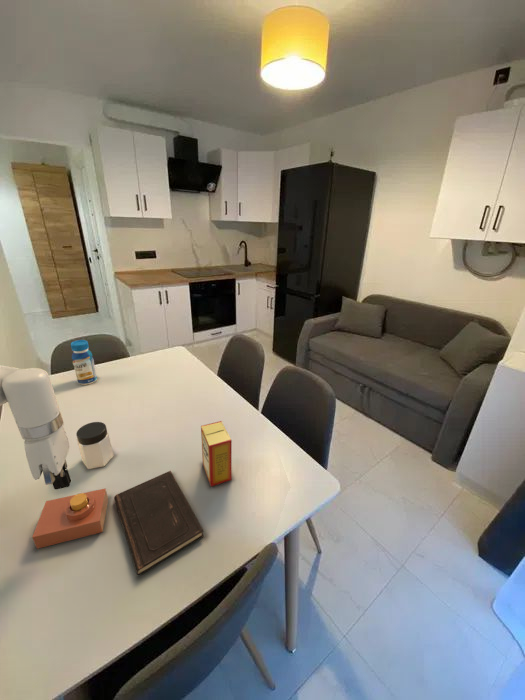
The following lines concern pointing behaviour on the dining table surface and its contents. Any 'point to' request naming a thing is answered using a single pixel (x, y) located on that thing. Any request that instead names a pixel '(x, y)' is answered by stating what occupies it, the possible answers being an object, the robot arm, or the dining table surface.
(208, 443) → the baking soda box
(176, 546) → the hardcover book
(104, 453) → the jar
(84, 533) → the push button box
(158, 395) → the dining table surface
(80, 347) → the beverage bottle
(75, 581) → the dining table surface
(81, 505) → the yellow push button
